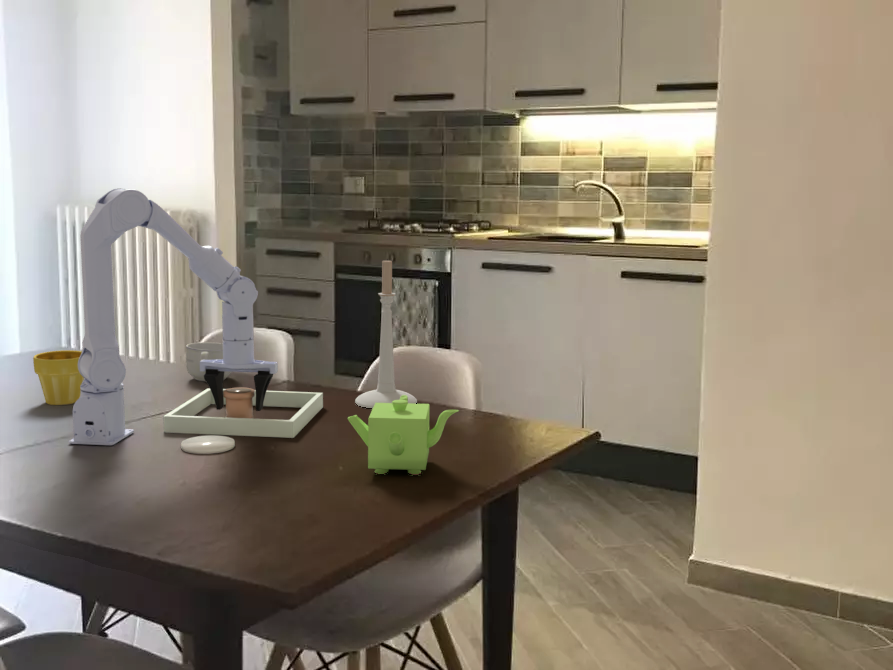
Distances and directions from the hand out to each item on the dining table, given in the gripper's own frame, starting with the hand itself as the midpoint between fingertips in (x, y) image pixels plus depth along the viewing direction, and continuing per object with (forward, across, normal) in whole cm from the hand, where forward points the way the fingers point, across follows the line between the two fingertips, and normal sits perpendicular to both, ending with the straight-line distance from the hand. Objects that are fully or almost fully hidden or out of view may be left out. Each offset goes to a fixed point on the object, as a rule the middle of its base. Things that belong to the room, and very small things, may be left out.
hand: (239, 409), depth 190 cm
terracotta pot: (+2, 0, 0) cm, 2 cm away
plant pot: (+2, +40, -10) cm, 41 cm away
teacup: (+3, +18, -35) cm, 39 cm away
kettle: (+3, -35, +25) cm, 43 cm away
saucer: (+2, 0, +18) cm, 18 cm away
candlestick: (+3, -25, -20) cm, 32 cm away
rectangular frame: (+2, -1, -2) cm, 3 cm away
